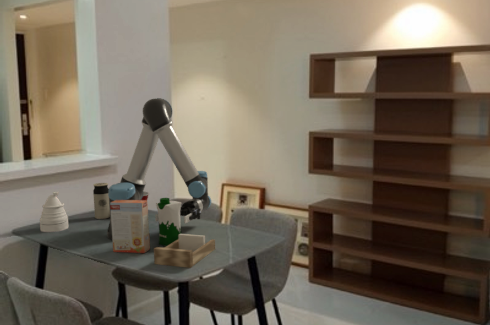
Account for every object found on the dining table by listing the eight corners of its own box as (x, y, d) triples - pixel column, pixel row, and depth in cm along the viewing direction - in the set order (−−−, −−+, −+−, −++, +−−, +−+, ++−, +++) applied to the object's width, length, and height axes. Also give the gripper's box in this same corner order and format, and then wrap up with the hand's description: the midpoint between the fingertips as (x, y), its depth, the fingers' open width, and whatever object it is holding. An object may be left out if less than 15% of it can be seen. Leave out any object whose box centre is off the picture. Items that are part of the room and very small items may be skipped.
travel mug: (96, 216, 265) (94, 183, 263) (111, 215, 266) (109, 182, 264) (93, 219, 258) (91, 185, 255) (109, 218, 258) (107, 184, 256)
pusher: (179, 250, 201) (178, 234, 200) (180, 249, 202) (180, 233, 201) (204, 253, 197) (203, 236, 196) (205, 251, 198) (204, 235, 197)
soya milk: (156, 244, 211) (153, 198, 209) (172, 239, 218) (170, 194, 215) (168, 248, 205) (166, 200, 203) (185, 243, 212) (183, 197, 209)
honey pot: (73, 225, 248) (70, 189, 245) (61, 232, 235) (58, 194, 233) (48, 225, 249) (45, 189, 247) (35, 232, 236) (32, 195, 234)
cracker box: (150, 249, 205) (148, 199, 202) (144, 253, 199) (141, 202, 196) (119, 247, 208) (116, 198, 205) (112, 252, 202) (109, 202, 199)
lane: (154, 264, 186) (153, 248, 185) (182, 246, 208) (181, 232, 207) (190, 267, 181) (189, 251, 180) (215, 249, 202) (214, 234, 202)
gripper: (217, 217, 226) (197, 229, 206) (168, 214, 234) (144, 225, 214) (216, 201, 225) (197, 212, 205) (167, 198, 233) (144, 208, 213)
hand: (170, 219), depth 209 cm, fingers open, 13 cm apart
